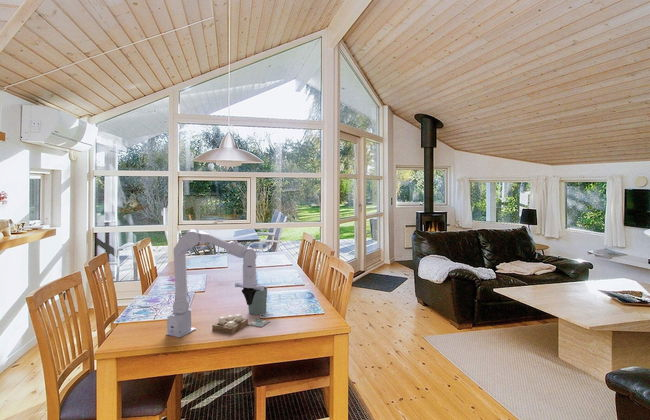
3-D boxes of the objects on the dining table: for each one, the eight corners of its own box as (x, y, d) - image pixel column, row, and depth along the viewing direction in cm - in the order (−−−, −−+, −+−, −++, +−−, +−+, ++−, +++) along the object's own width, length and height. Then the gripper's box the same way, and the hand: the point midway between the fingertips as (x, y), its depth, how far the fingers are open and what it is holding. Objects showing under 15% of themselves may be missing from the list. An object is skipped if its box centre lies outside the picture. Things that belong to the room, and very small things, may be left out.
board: (231, 334, 152) (231, 328, 151) (212, 330, 155) (212, 325, 155) (247, 324, 163) (247, 319, 162) (229, 320, 166) (229, 315, 166)
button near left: (222, 325, 155) (222, 319, 155) (217, 324, 156) (217, 318, 156) (226, 323, 158) (226, 317, 158) (221, 322, 159) (221, 316, 159)
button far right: (239, 323, 159) (239, 316, 158) (234, 322, 160) (234, 315, 160) (243, 320, 161) (243, 314, 161) (238, 319, 162) (238, 313, 162)
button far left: (230, 324, 161) (230, 317, 160) (225, 323, 162) (225, 316, 161) (234, 322, 163) (234, 315, 163) (229, 321, 164) (229, 314, 164)
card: (261, 327, 159) (261, 326, 159) (248, 324, 162) (248, 323, 162) (269, 321, 166) (269, 320, 166) (256, 319, 168) (256, 318, 168)
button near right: (231, 330, 154) (231, 323, 153) (226, 329, 155) (226, 322, 154) (235, 328, 156) (235, 321, 156) (230, 327, 157) (230, 320, 157)
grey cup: (263, 316, 172) (262, 292, 171) (243, 314, 174) (243, 290, 173) (270, 309, 182) (270, 286, 181) (251, 307, 184) (251, 284, 183)
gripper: (268, 274, 161) (268, 303, 162) (241, 271, 167) (241, 299, 168) (259, 278, 155) (259, 308, 156) (231, 274, 160) (232, 304, 161)
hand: (249, 304), depth 161 cm, fingers closed
